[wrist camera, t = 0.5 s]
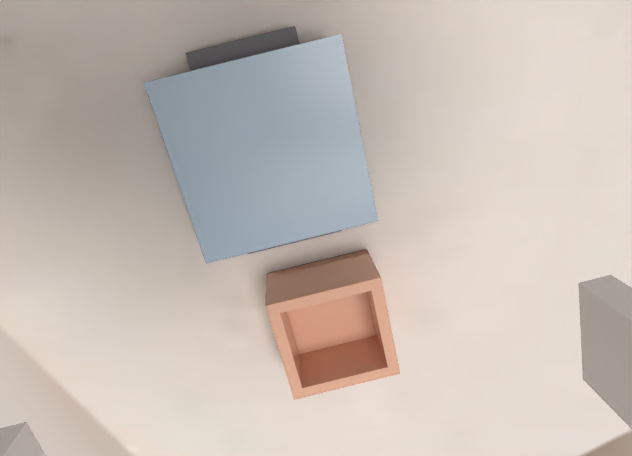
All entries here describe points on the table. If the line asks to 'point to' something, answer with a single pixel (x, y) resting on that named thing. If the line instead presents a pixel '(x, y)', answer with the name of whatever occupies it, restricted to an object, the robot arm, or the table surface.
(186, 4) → the table surface
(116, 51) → the table surface
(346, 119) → the blue square slab
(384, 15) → the table surface
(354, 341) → the open box
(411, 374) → the table surface
